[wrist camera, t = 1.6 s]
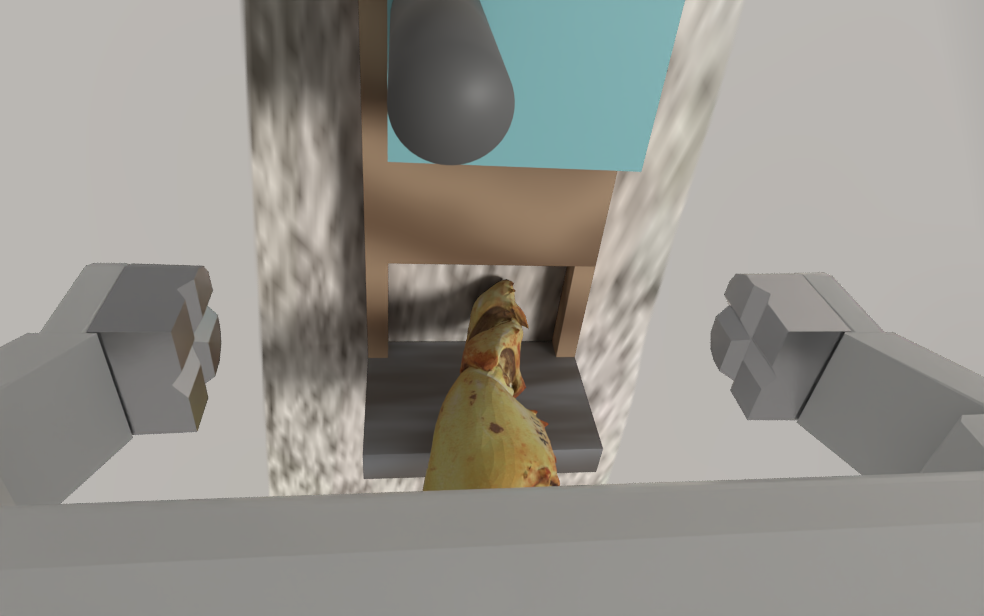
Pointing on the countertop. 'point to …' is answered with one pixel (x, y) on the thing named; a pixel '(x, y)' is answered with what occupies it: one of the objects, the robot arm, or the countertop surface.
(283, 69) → the countertop surface
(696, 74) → the countertop surface
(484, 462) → the crab claw
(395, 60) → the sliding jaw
